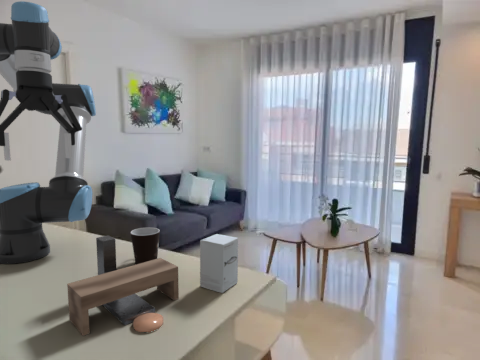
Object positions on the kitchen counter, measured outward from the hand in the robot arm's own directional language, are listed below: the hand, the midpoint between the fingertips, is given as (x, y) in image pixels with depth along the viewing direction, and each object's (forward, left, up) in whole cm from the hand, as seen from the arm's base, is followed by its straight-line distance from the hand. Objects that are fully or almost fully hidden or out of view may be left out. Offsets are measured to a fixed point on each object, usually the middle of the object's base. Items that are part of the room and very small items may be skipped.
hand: (40, 159), depth 84 cm
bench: (+27, +9, -33) cm, 43 cm away
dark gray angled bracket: (+24, +9, -33) cm, 41 cm away
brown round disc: (+36, +9, -33) cm, 50 cm away
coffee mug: (+4, +27, -33) cm, 43 cm away
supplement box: (+32, +32, -33) cm, 56 cm away
